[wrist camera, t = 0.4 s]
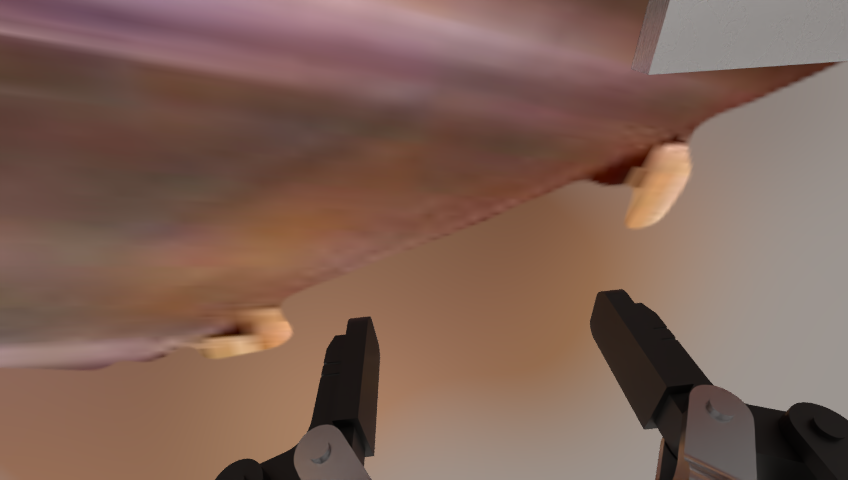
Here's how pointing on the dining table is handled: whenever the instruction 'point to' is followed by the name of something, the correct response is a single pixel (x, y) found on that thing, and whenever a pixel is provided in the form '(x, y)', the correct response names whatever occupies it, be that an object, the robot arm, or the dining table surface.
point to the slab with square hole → (740, 34)
